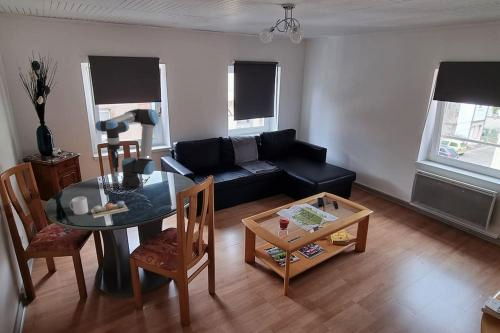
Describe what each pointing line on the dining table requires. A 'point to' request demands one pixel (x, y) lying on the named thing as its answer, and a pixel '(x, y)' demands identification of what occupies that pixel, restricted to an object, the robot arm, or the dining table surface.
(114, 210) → the button board
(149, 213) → the dining table surface
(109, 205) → the button terracotta
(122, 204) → the button slate
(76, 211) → the mug
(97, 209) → the button sage
